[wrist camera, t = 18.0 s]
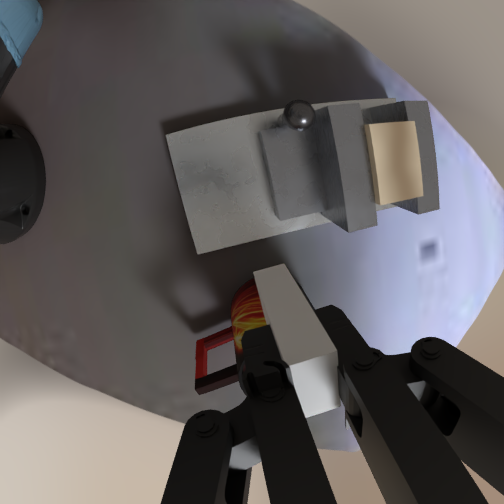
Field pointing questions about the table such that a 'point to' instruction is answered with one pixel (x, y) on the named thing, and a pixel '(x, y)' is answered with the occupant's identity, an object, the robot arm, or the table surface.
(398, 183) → the block
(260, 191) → the vise bed
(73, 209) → the table surface
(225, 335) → the mug
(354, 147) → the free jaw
